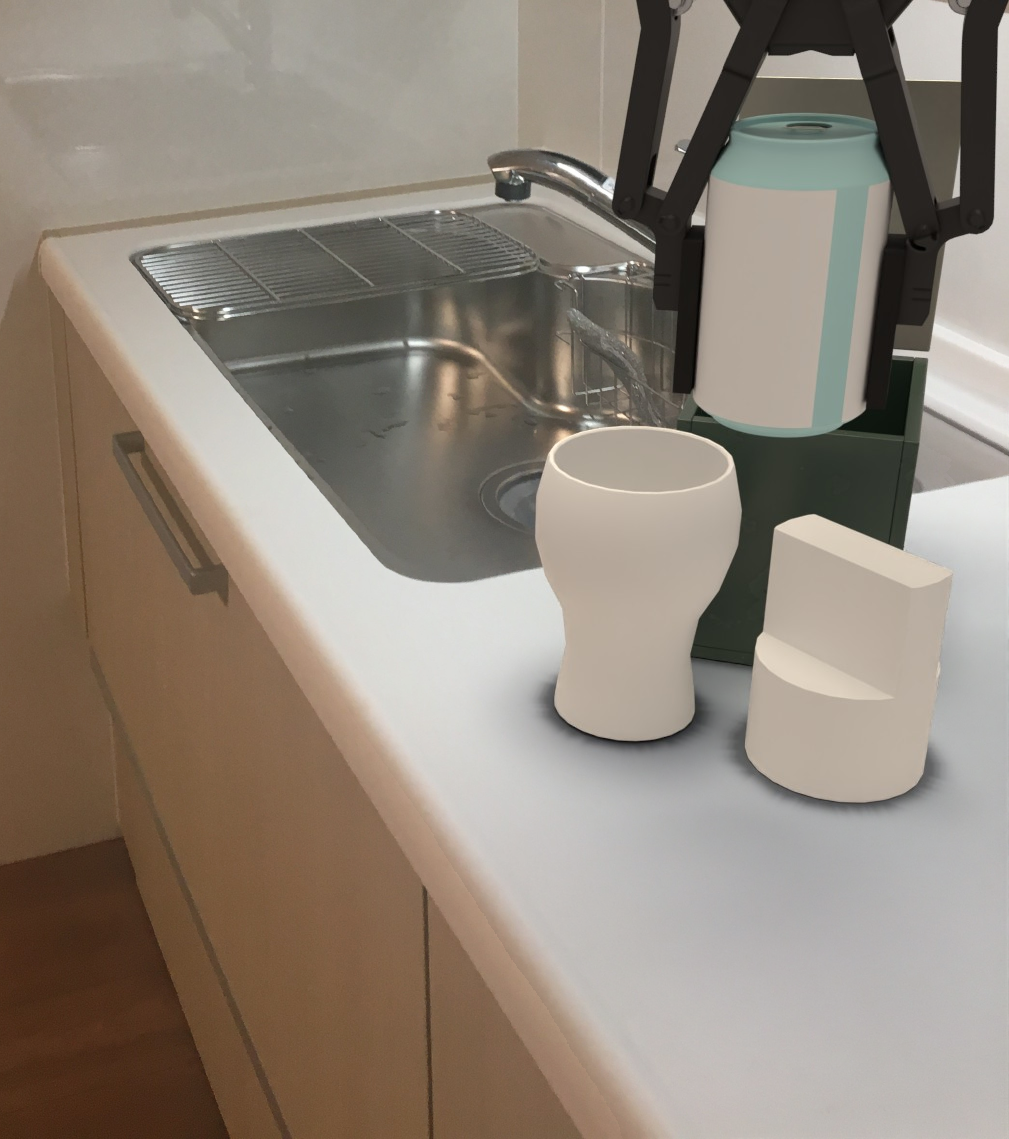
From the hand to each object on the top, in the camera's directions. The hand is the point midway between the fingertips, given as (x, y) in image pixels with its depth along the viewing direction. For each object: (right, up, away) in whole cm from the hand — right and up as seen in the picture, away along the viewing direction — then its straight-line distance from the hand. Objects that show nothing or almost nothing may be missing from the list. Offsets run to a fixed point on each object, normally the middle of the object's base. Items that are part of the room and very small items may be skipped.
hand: (779, 389), depth 66 cm
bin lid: (+12, +14, +28) cm, 34 cm away
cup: (-2, -15, +22) cm, 27 cm away
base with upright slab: (+8, -18, +17) cm, 26 cm away
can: (0, -1, +1) cm, 1 cm away
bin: (+10, -10, +31) cm, 34 cm away
